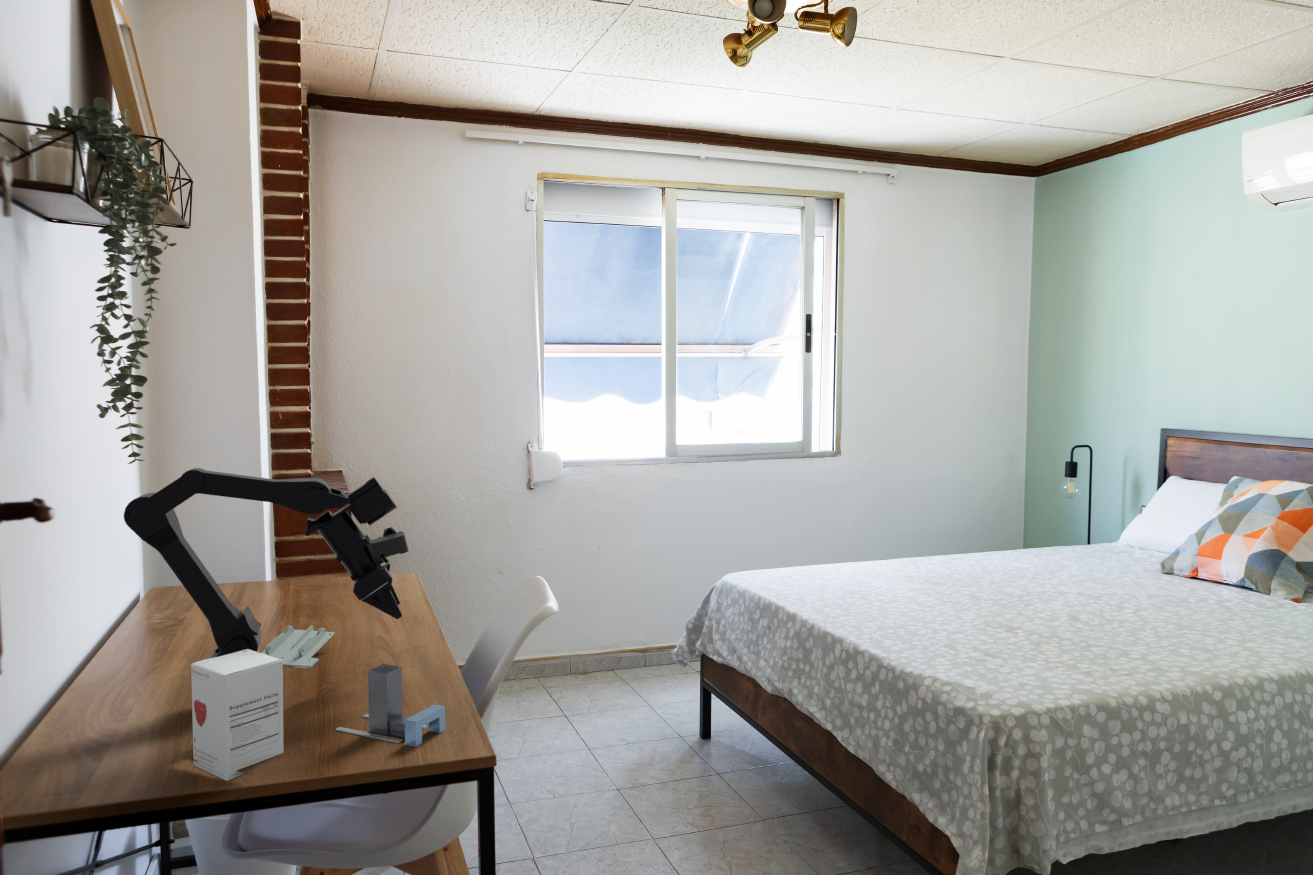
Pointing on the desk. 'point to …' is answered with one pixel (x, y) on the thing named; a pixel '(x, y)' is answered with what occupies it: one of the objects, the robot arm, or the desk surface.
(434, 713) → the blue gray railed fixture
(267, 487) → the robot arm
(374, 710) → the tall gray pillar
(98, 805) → the desk surface
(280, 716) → the supplement box
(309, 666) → the metal bracket
